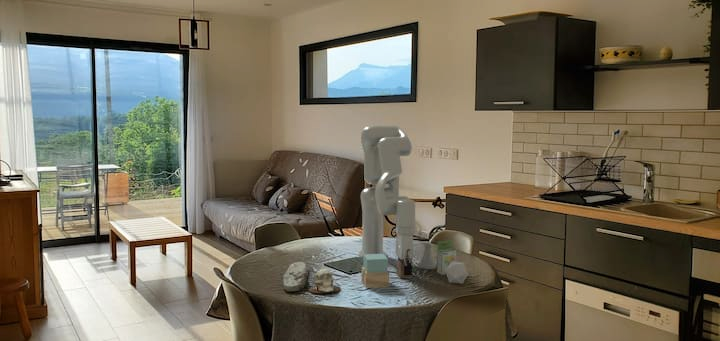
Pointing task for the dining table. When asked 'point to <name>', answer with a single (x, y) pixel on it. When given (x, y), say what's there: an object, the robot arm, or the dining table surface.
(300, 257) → the dining table surface
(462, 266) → the die
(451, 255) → the ink box
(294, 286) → the elongated rock
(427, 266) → the flask
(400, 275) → the walnut block
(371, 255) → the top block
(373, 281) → the bottom block
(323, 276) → the skull
